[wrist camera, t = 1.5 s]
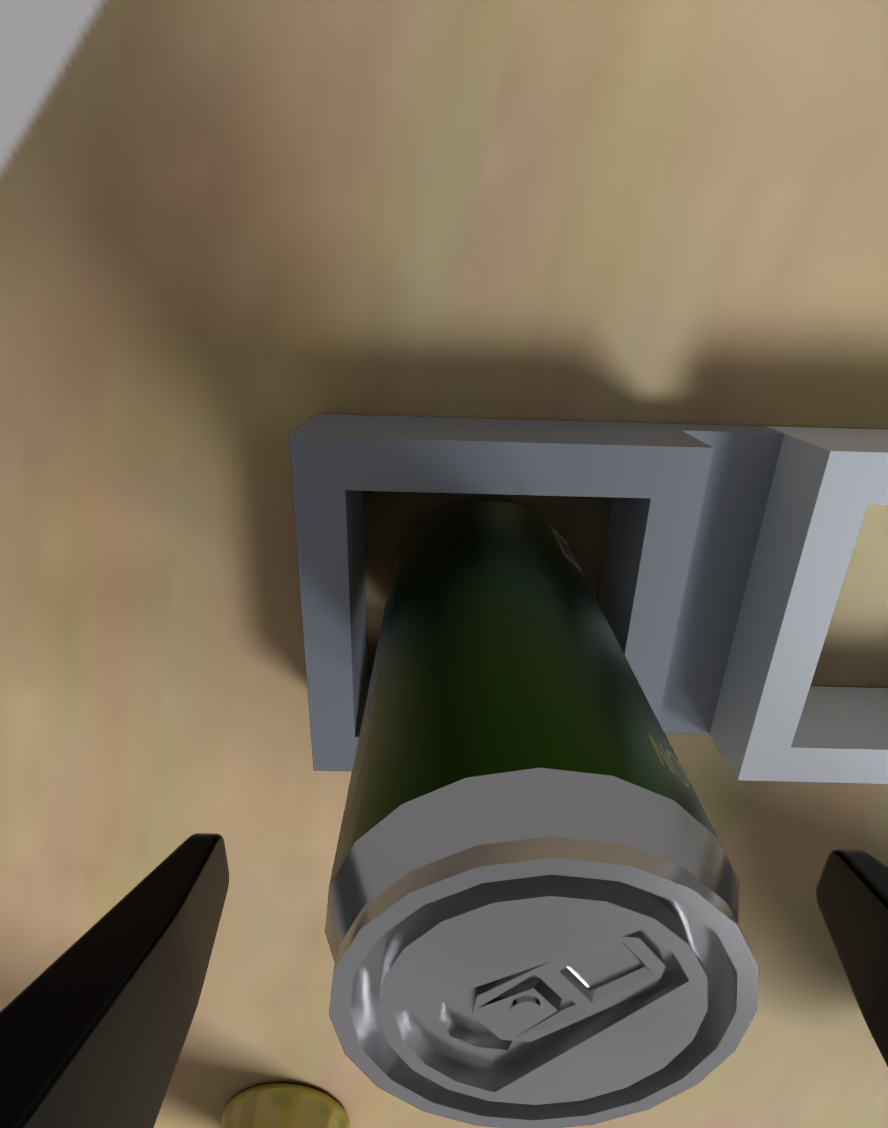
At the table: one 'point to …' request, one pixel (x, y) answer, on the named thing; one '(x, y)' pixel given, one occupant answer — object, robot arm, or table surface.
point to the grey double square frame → (630, 567)
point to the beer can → (524, 852)
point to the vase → (283, 1108)
